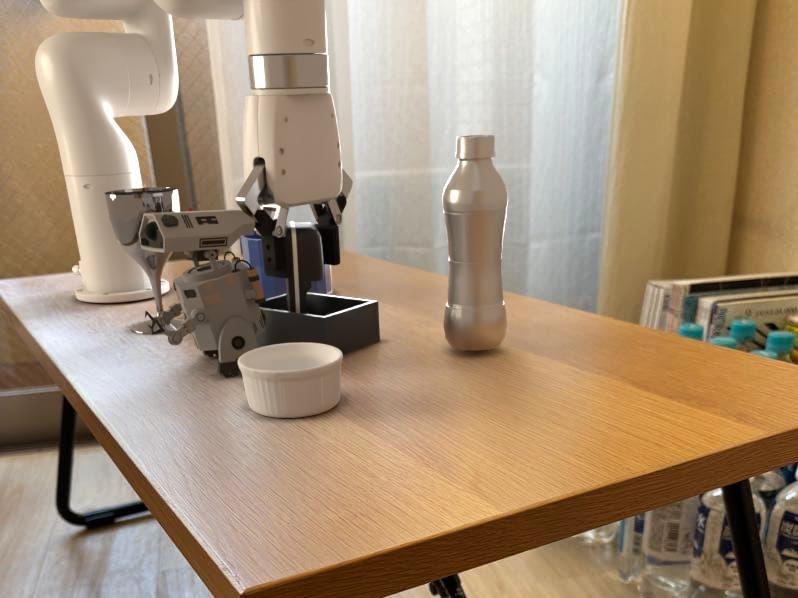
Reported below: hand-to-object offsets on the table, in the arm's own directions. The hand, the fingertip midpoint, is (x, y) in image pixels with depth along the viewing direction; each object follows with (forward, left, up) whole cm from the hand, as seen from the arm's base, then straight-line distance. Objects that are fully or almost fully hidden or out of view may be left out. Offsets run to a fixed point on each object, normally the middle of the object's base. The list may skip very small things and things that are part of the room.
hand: (303, 268), depth 93 cm
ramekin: (+13, -17, -8) cm, 23 cm away
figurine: (-2, -12, -8) cm, 15 cm away
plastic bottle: (+17, +6, -8) cm, 20 cm away
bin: (+1, 0, -8) cm, 8 cm away
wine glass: (-21, -3, -8) cm, 23 cm away
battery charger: (0, 0, -7) cm, 7 cm away
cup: (-19, +17, -8) cm, 27 cm away
